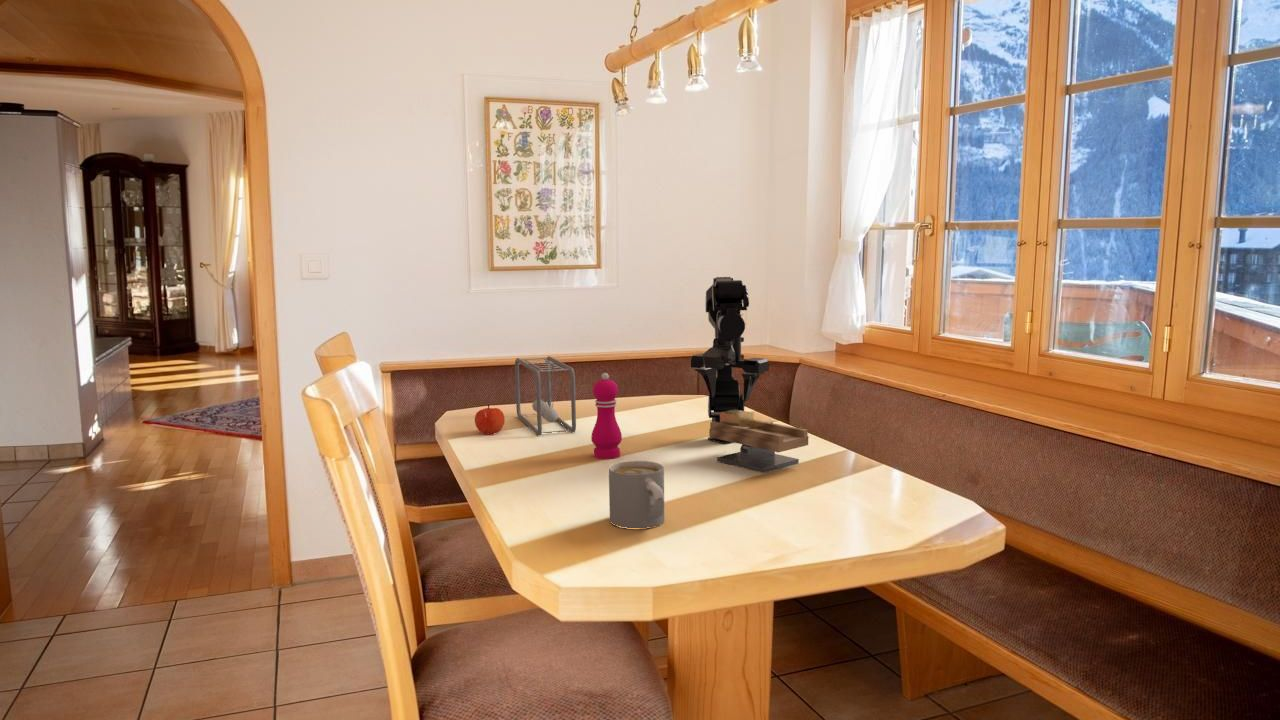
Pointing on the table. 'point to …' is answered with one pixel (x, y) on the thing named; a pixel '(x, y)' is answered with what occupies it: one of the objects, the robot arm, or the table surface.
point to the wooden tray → (761, 435)
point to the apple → (489, 420)
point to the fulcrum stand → (757, 459)
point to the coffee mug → (636, 494)
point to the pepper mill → (606, 420)
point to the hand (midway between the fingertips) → (728, 399)
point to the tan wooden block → (737, 418)
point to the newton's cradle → (539, 404)
